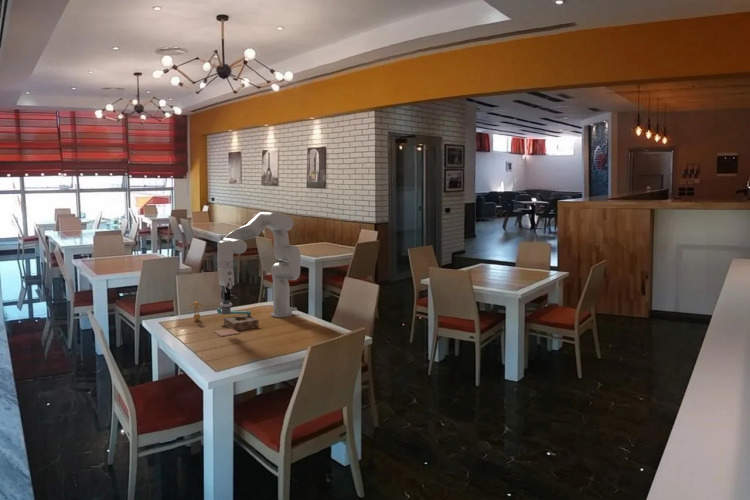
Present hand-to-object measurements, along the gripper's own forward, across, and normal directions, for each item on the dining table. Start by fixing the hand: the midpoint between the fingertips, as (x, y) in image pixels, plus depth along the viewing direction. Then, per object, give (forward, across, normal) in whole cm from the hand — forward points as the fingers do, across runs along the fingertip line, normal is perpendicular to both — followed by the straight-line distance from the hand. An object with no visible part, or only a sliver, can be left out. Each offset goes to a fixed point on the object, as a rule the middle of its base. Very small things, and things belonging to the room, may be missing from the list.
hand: (226, 298), depth 298 cm
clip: (+13, +17, -11) cm, 24 cm away
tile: (+18, 0, 0) cm, 18 cm away
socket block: (+18, +9, -12) cm, 24 cm away
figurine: (+18, +33, +4) cm, 38 cm away
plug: (+8, 0, 0) cm, 8 cm away
